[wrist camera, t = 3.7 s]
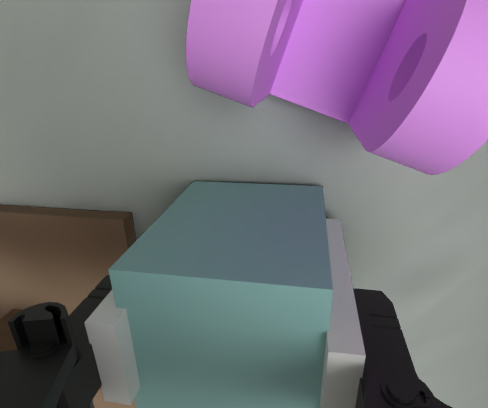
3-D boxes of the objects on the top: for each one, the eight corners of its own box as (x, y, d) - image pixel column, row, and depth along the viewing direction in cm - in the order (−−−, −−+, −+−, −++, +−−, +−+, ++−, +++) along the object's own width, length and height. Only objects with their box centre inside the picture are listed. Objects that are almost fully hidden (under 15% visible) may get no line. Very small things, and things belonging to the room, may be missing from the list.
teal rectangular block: (194, 181, 14) (108, 269, 8) (322, 186, 13) (332, 289, 7) (202, 285, 16) (138, 418, 10) (314, 296, 15) (317, 448, 9)
